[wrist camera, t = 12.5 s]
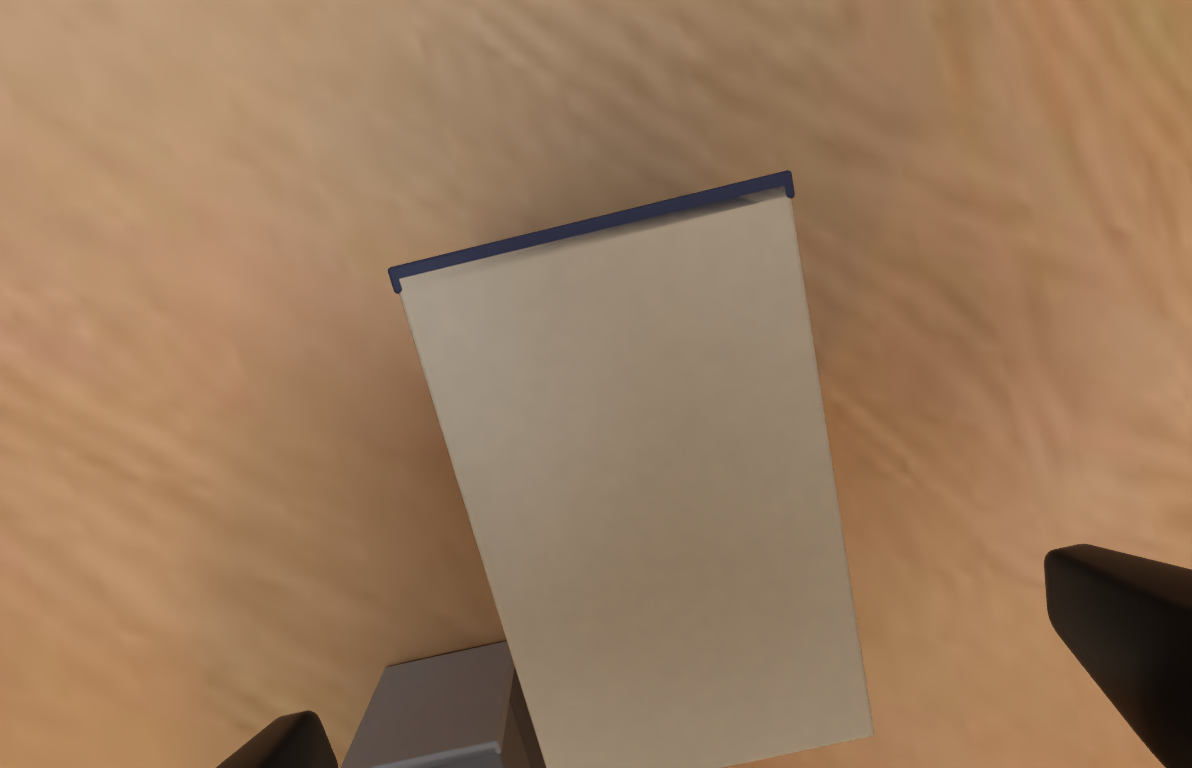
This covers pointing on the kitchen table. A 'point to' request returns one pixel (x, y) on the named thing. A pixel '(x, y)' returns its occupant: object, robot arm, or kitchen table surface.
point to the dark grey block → (448, 715)
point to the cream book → (651, 478)
